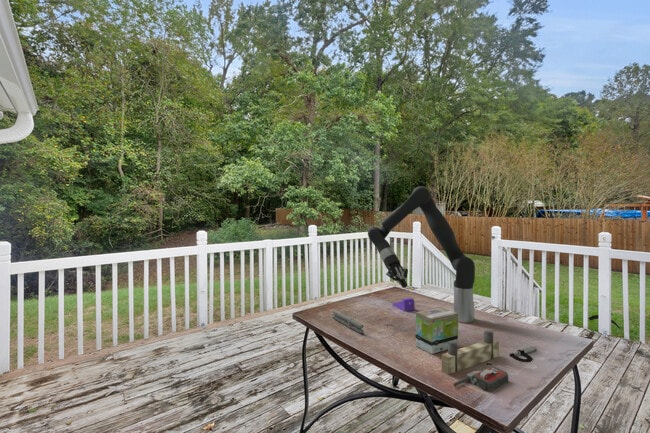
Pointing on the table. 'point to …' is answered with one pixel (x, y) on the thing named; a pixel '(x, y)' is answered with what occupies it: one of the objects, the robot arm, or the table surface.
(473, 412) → the table surface
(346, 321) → the metal rod assembly
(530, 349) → the micrometer
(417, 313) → the tea box
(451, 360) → the bench stop
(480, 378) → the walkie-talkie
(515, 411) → the table surface
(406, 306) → the bracket
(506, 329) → the table surface
